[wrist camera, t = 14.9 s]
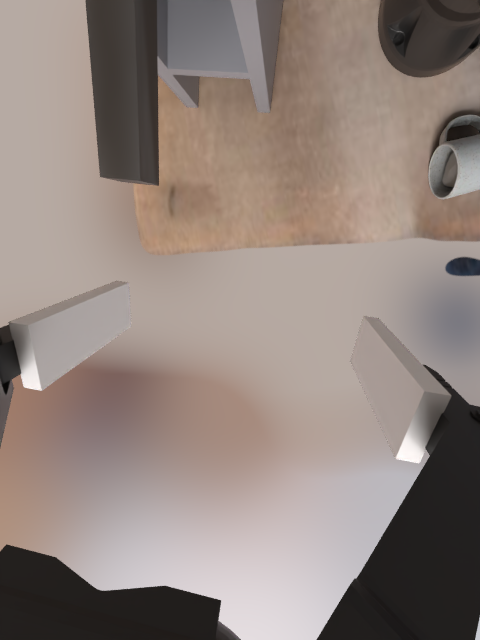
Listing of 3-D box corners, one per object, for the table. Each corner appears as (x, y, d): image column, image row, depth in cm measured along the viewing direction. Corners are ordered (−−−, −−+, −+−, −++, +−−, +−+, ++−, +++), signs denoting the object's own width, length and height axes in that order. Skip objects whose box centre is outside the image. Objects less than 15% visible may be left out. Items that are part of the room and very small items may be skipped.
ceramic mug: (486, 186, 43) (527, 178, 35) (428, 201, 44) (456, 197, 37) (486, 109, 39) (531, 84, 32) (424, 129, 41) (454, 110, 34)
